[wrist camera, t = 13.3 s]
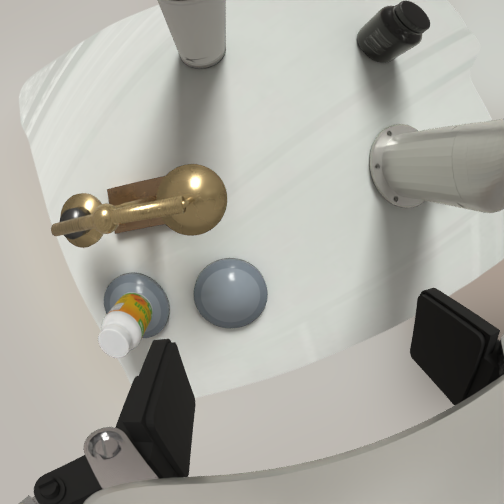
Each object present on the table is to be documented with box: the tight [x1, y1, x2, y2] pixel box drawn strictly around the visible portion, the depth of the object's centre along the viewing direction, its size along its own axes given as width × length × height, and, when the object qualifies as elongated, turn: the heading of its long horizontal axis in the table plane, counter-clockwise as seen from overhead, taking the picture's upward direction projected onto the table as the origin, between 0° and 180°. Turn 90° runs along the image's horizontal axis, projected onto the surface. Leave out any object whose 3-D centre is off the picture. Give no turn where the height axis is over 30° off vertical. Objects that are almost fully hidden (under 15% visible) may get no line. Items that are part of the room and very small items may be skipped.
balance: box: [51, 164, 227, 248], centre depth 26 cm, size 20×6×18 cm, turn 98°
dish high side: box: [194, 258, 268, 328], centre depth 38 cm, size 10×10×1 cm
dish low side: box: [104, 273, 170, 338], centre depth 38 cm, size 10×10×1 cm
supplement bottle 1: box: [98, 292, 153, 358], centre depth 32 cm, size 5×5×10 cm
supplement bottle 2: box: [357, 1, 430, 63], centre depth 25 cm, size 7×7×12 cm
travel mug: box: [158, 0, 226, 68], centre depth 20 cm, size 6×7×20 cm
